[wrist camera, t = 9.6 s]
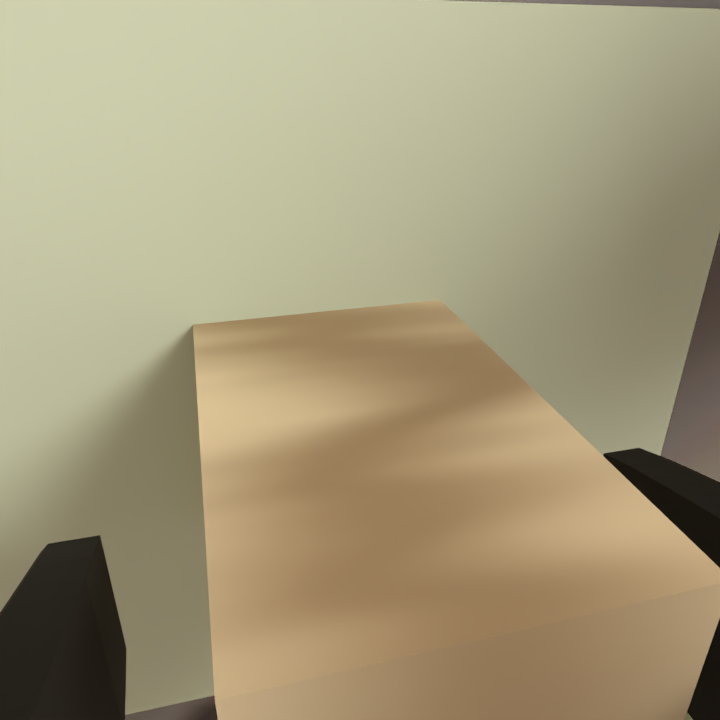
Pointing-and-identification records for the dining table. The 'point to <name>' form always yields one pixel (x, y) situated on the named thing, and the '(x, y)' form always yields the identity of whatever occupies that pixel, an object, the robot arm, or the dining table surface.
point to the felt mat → (323, 236)
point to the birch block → (427, 535)
